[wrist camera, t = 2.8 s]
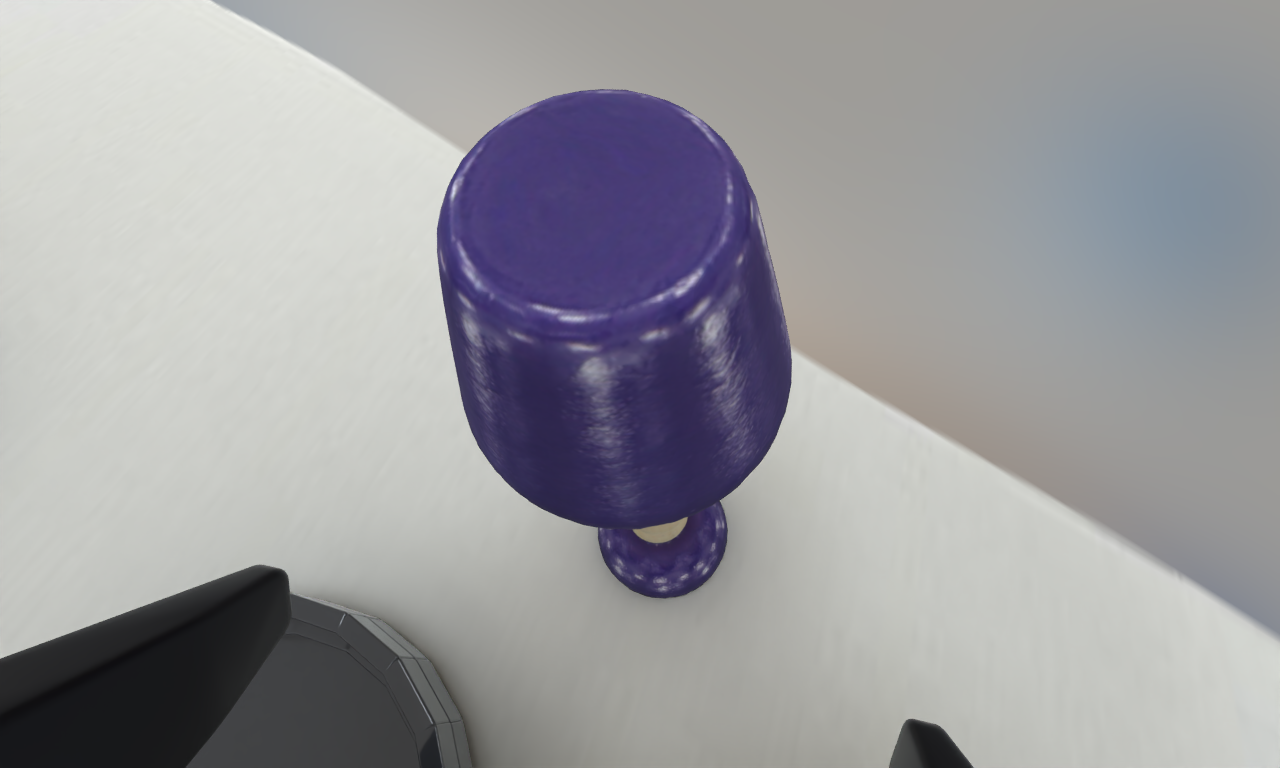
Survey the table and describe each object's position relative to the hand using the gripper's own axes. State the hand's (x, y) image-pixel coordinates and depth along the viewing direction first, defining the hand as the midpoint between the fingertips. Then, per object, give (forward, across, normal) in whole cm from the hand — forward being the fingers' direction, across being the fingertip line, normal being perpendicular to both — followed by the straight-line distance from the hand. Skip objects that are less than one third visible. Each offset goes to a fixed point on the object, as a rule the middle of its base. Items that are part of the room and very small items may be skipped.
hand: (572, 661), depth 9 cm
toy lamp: (+11, 0, +5) cm, 12 cm away
